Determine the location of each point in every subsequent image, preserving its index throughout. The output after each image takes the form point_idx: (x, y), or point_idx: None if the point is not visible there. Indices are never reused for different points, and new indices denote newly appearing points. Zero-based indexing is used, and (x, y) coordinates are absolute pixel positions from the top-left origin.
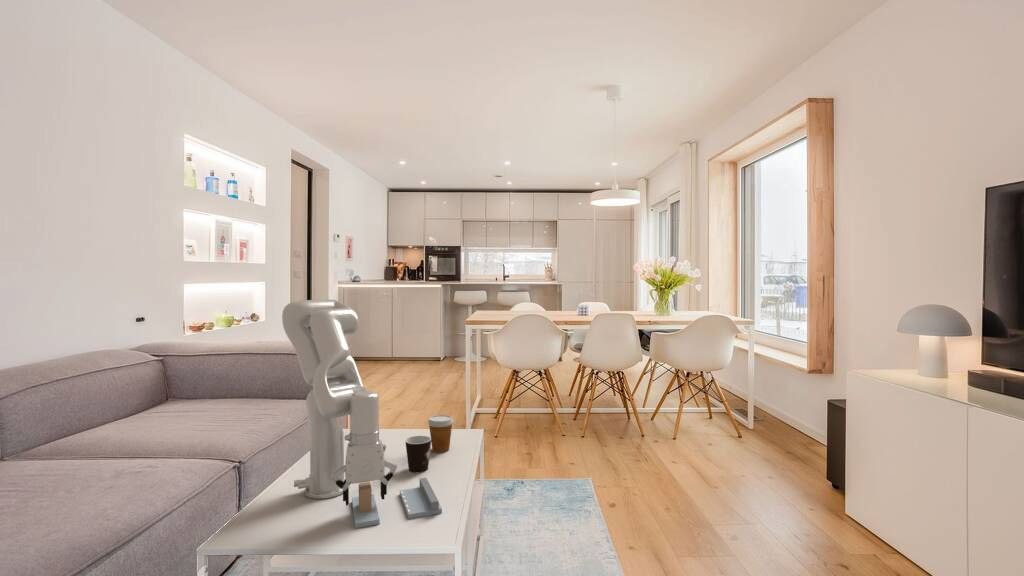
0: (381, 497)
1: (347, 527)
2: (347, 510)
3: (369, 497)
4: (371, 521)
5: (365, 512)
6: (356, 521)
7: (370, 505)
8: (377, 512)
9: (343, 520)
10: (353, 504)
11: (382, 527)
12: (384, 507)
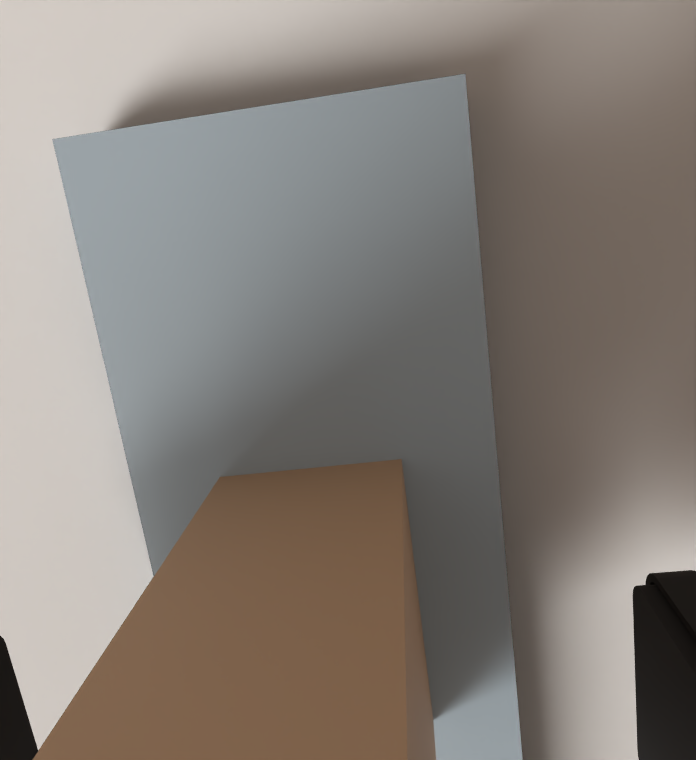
0: (2, 682)
1: (582, 167)
2: (582, 687)
3: (176, 607)
4: (191, 123)
5: (313, 450)
6: (448, 149)
7: (210, 515)
8: (120, 400)
9: (641, 414)
10: (512, 750)
11: (36, 27)
12: (90, 635)
